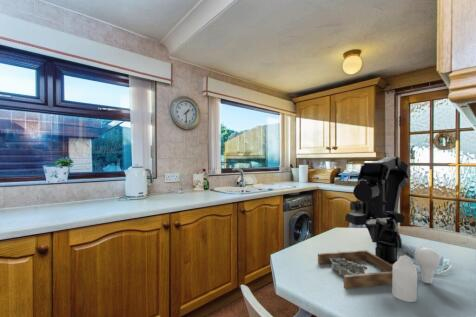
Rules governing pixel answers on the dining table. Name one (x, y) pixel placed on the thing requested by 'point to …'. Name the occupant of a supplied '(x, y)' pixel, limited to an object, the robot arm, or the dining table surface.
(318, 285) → the dining table surface
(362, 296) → the dining table surface
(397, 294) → the roll
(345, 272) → the egg carton
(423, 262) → the lightbulb
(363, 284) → the open wooden frame
